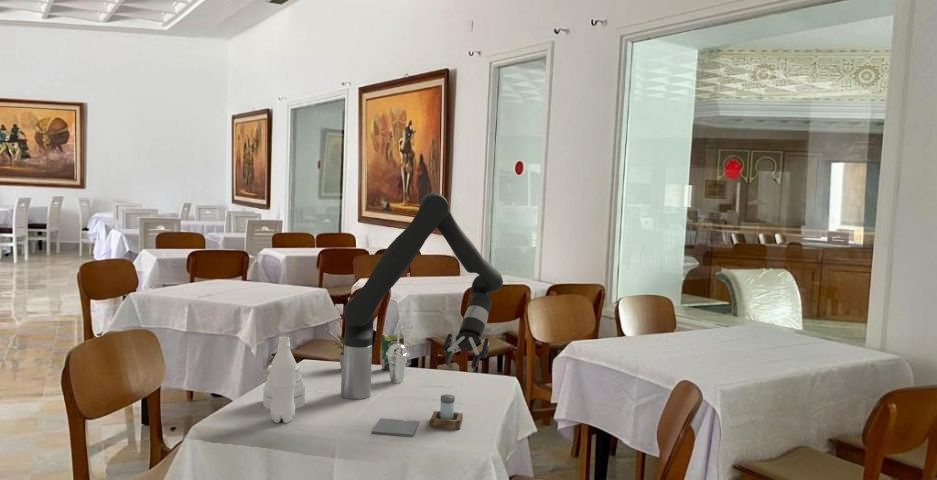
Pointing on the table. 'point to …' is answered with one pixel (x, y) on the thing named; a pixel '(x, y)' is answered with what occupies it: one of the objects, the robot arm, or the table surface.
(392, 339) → the coffee box
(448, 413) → the grey-capped cylinder canister
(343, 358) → the house plant
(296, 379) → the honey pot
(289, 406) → the water bottle
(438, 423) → the walnut collar
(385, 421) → the slate pad
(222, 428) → the table surface
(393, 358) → the cup with straw
